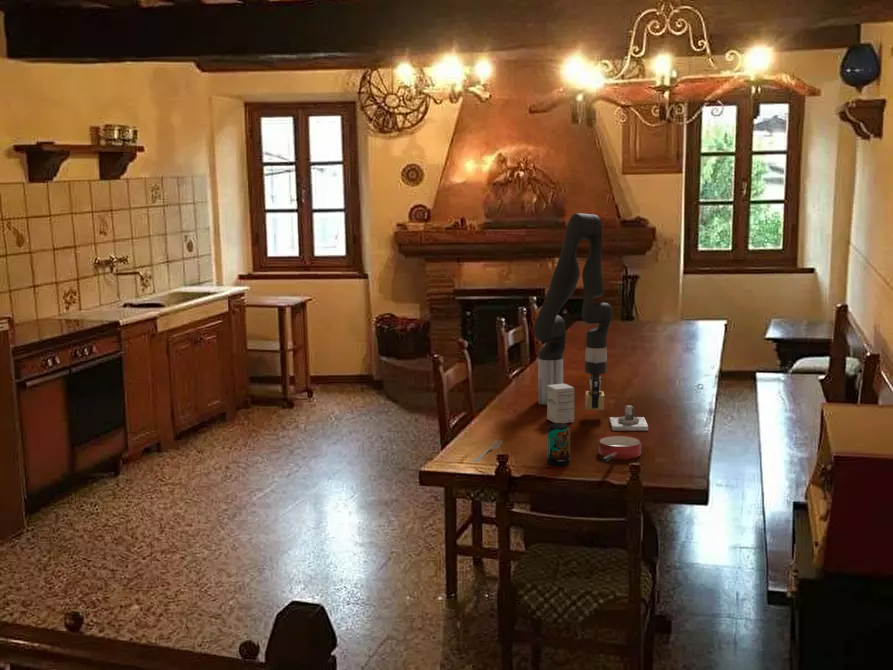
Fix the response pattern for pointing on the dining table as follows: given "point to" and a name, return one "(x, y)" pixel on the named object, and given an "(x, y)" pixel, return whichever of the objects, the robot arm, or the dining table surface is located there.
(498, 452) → the dining table surface
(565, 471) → the dining table surface
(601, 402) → the box
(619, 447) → the frying pan
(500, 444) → the fork
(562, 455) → the beverage can
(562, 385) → the supplement box
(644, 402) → the dining table surface
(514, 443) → the dining table surface
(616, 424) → the shaft stand
